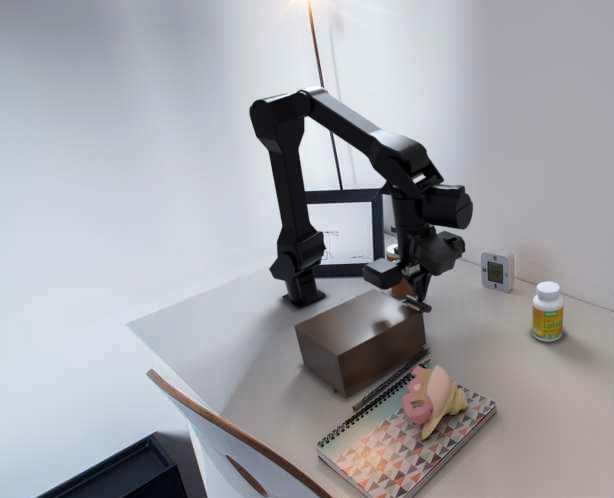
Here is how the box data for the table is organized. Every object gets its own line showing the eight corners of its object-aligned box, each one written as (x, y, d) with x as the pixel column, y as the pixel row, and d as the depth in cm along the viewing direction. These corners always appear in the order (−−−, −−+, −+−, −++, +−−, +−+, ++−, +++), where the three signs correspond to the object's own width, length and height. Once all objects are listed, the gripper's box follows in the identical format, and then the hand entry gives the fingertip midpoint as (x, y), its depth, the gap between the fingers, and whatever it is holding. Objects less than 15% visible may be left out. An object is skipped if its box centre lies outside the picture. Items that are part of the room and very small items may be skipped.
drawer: (403, 311, 101) (400, 283, 98) (444, 333, 94) (441, 303, 91) (317, 356, 89) (309, 325, 86) (355, 385, 83) (349, 352, 80)
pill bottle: (386, 294, 109) (380, 250, 104) (402, 283, 113) (396, 241, 108) (405, 300, 107) (399, 255, 102) (421, 289, 111) (416, 245, 106)
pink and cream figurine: (459, 390, 83) (487, 376, 75) (442, 453, 78) (470, 445, 70) (406, 369, 80) (429, 352, 72) (384, 433, 75) (407, 422, 67)
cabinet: (380, 326, 99) (373, 288, 95) (423, 352, 91) (419, 312, 87) (304, 365, 89) (293, 325, 85) (346, 398, 81) (336, 356, 77)
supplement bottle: (542, 345, 92) (543, 297, 87) (526, 330, 96) (526, 284, 91) (568, 336, 94) (570, 289, 89) (551, 322, 98) (553, 276, 93)
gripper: (397, 253, 77) (409, 340, 85) (485, 214, 89) (489, 294, 97) (353, 233, 84) (368, 316, 92) (440, 200, 96) (447, 275, 103)
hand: (421, 300), depth 96 cm, fingers closed
